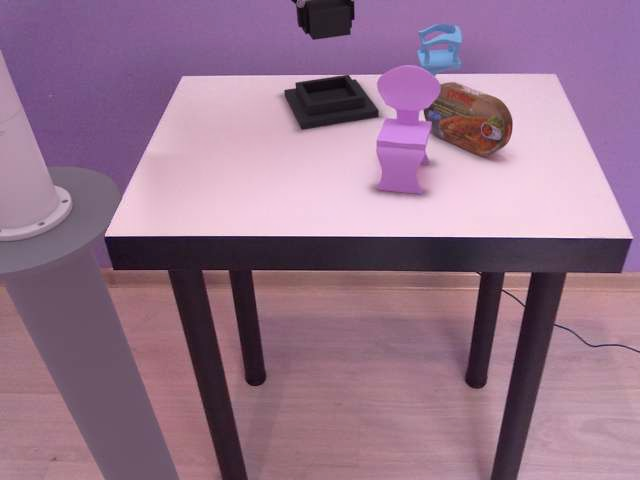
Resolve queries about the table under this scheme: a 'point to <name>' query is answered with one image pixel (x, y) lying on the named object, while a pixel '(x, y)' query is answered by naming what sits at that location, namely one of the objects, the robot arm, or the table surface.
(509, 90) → the table surface
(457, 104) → the tin
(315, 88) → the base pad
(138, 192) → the table surface
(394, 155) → the toy chair
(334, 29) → the black square block
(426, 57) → the chair
